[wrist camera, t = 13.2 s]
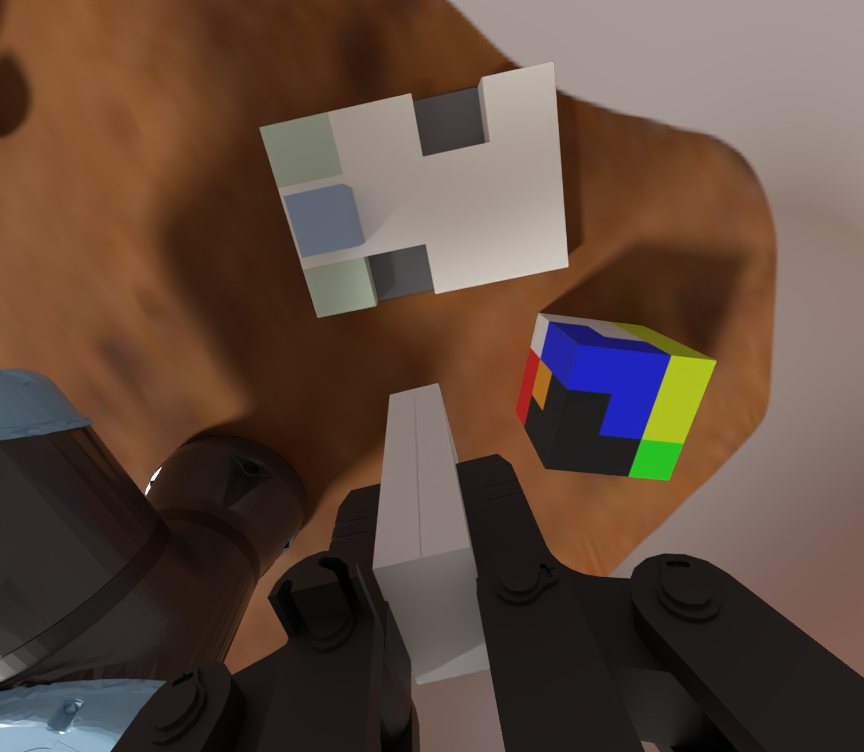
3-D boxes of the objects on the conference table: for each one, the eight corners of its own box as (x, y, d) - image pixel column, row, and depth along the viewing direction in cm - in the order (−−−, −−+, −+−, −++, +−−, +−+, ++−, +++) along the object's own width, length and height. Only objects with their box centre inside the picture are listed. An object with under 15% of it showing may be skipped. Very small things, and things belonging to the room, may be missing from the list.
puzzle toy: (538, 312, 37) (578, 344, 28) (642, 325, 38) (716, 360, 28) (515, 411, 41) (545, 468, 31) (612, 421, 41) (668, 480, 32)
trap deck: (324, 311, 36) (317, 318, 34) (270, 134, 31) (259, 127, 29) (558, 263, 35) (568, 266, 33) (543, 73, 30) (553, 61, 28)
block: (315, 253, 32) (302, 257, 28) (299, 198, 31) (283, 196, 27) (365, 242, 32) (358, 246, 28) (351, 187, 30) (342, 183, 27)
